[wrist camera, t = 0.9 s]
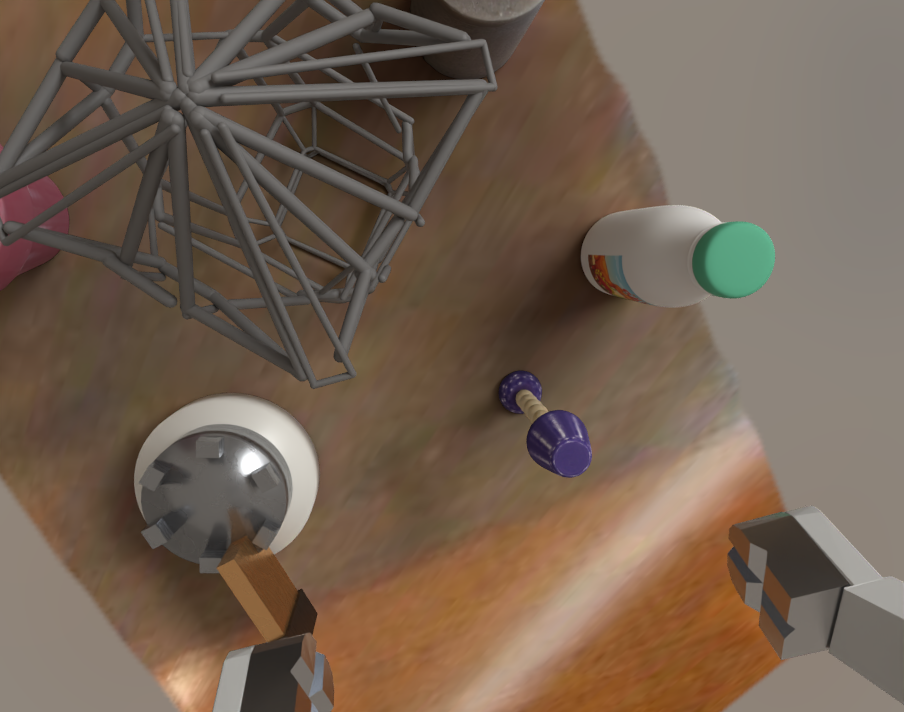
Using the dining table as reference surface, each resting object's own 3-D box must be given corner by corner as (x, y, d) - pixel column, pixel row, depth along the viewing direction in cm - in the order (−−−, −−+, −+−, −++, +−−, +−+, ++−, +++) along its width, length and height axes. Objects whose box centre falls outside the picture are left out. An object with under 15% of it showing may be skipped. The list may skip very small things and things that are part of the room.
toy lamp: (552, 378, 55) (613, 435, 39) (537, 422, 56) (590, 496, 40) (506, 365, 55) (548, 417, 38) (491, 410, 55) (526, 479, 39)
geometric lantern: (217, 244, 50) (-190, 212, 16) (296, 80, 49) (30, -349, 14) (376, 327, 53) (317, 454, 18) (457, 173, 51) (559, -4, 17)
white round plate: (349, 503, 56) (346, 519, 53) (207, 575, 56) (195, 595, 53) (266, 363, 53) (257, 370, 50) (114, 441, 53) (96, 453, 50)
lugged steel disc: (129, 462, 50) (85, 497, 43) (248, 400, 50) (223, 426, 43) (253, 642, 55) (230, 701, 48) (363, 587, 54) (357, 637, 48)
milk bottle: (571, 222, 52) (669, 210, 33) (651, 203, 53) (796, 180, 33) (586, 303, 54) (688, 338, 34) (664, 284, 54) (809, 308, 35)
